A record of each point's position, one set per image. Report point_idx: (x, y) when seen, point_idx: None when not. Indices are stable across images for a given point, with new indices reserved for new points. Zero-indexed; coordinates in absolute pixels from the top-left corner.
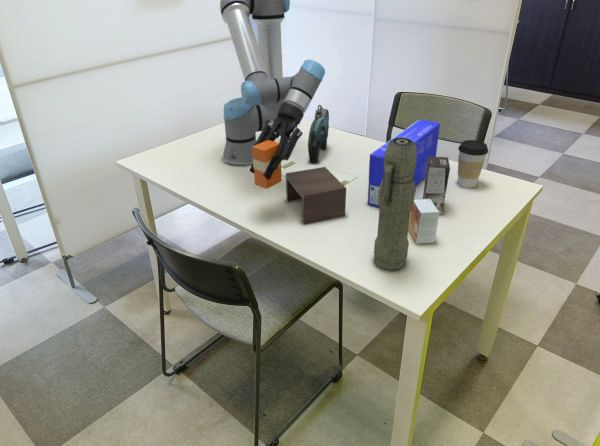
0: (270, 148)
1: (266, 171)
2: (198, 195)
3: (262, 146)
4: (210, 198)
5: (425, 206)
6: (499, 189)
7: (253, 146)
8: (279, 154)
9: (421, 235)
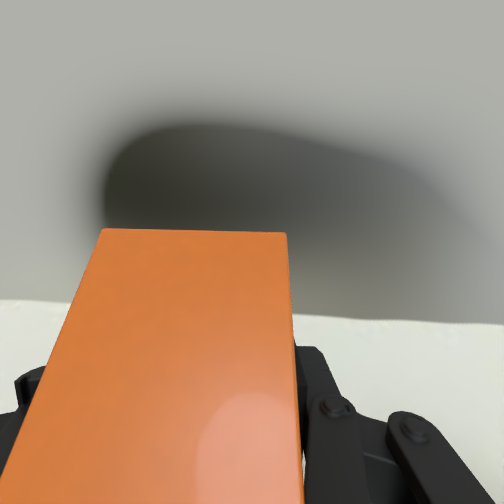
0: (68, 323)
1: None
2: (499, 353)
3: (187, 294)
4: (457, 363)
5: None
6: None
7: (276, 239)
8: (11, 419)
9: None
